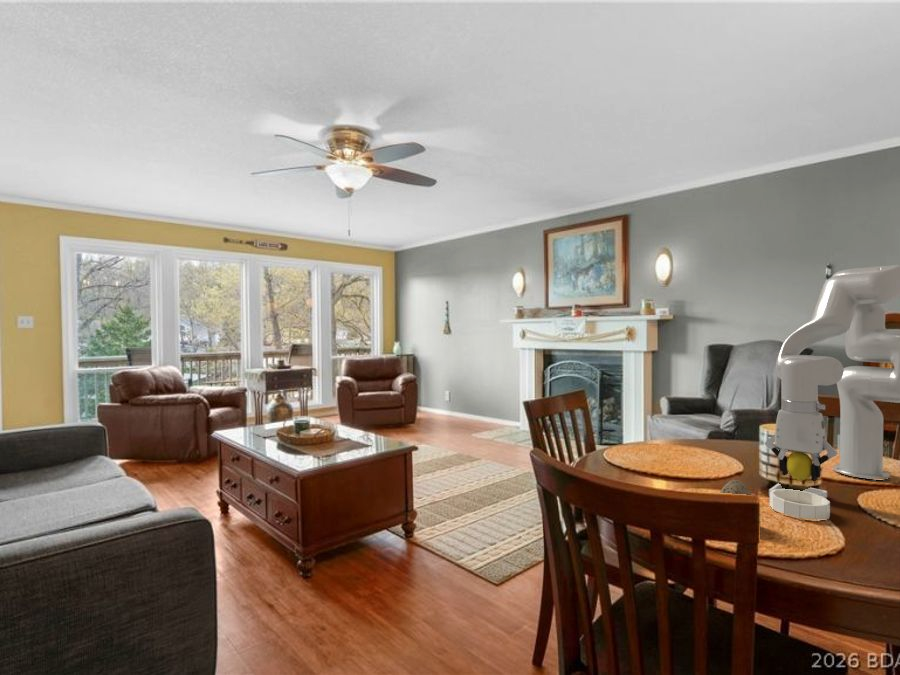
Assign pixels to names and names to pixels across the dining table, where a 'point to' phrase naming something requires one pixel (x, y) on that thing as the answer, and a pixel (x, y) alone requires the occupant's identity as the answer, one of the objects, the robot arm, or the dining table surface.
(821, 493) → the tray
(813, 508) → the bowl
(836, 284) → the robot arm
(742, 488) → the decorative egg
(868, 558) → the dining table surface
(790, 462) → the lemon
